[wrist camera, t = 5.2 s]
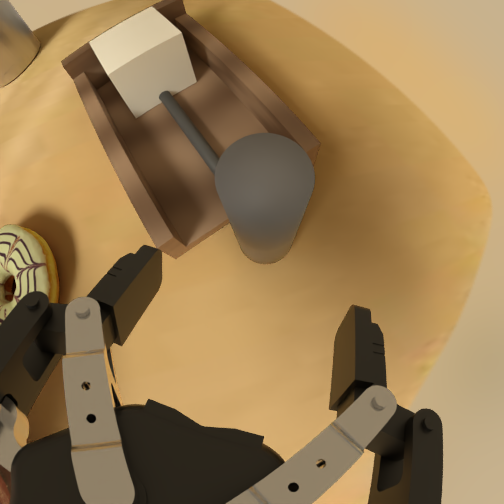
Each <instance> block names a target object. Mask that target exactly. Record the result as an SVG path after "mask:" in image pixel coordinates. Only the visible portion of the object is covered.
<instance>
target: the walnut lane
mask: <svg viewBox="0 0 504 504" xmlns="http://www.w3.org/2000/svg"><path fill="white" fill-rule="evenodd" d="M150 7H151V6H150ZM152 7H153V8H155V9H156V10H157V11H158V12H159V13H160V14H161V15H163V16H164V17H165V18H166V19H167V20H168V21H169V22H171V23H172V24H173V25H174V26H175V27H176V28H177V29H178V30H179V31H181V32H182V35H183V38H184V42H185V45H186V48H187V51H188V55H189V58H190V61H191V65H192V68H193V71H194V74H195V78H196V81H197V82H196V83H194V84H192V85H191V86H189V87H187V88H185V89H183V90H182V91H180V92H178V93H177V94H175V95H173V97H174V99H175V100H176V101H177V102H178V104H179V105H180V106H181V108H182V109H183V110H184V112H185V113H186V114H187V115H188V117H189V118H190V119H191V121H192V122H193V123H194V125H195V126H196V127H197V129H198V130H199V131H200V133H201V134H202V135H203V137H204V138H205V139H206V141H207V142H208V143H209V145H210V146H211V147H212V149H213V150H214V151H215V153H216V154H217V155H218V157H219V158H220V157H221V155H222V154H223V152H224V151H225V150H226V149H227V148H228V147H229V146H230V145H231V144H232V143H234V142H235V141H237V140H239V139H241V138H243V137H245V136H248V135H252V134H257V133H273V134H278V135H281V136H284V137H287V138H289V139H291V140H292V141H294V142H296V143H297V144H298V145H299V146H301V147H302V149H303V150H304V151H305V152H306V153H307V155H308V156H309V158H310V160H311V162H312V165H313V166H314V163H315V160H316V157H317V154H318V151H319V147H320V144H321V143H320V142H319V141H318V140H317V139H316V137H315V136H314V135H313V134H312V133H311V132H310V131H309V130H308V128H307V127H306V126H305V125H304V124H303V123H302V122H301V121H300V120H299V118H298V117H297V116H296V115H295V114H294V113H293V112H292V111H291V110H290V109H289V108H288V107H287V106H286V105H285V103H284V102H283V101H282V100H281V99H280V98H279V97H278V96H277V95H276V94H275V93H274V92H273V91H272V90H271V89H270V88H269V87H268V86H267V85H266V84H265V83H264V82H263V81H262V80H261V79H260V78H259V77H258V76H257V75H256V74H255V73H254V72H253V71H252V70H251V69H250V68H248V67H247V66H246V65H245V64H244V63H243V62H242V61H241V60H240V59H239V58H238V57H237V56H236V55H234V54H233V53H232V52H231V51H230V50H229V49H228V48H227V47H226V46H224V45H223V44H222V43H221V42H220V41H219V40H218V39H216V38H215V37H214V36H213V35H212V34H211V33H209V32H208V31H207V30H206V29H205V28H204V27H202V26H201V25H200V24H199V23H197V22H196V21H195V20H194V19H193V18H191V17H190V16H189V15H188V14H186V11H185V8H184V4H183V0H163V1H161V2H159V3H156V4H154V5H152ZM148 8H149V7H148ZM146 9H147V8H146ZM144 10H145V9H144ZM142 11H143V10H142ZM140 12H141V11H140ZM140 12H138V13H140ZM138 13H137V14H138ZM135 15H136V14H135ZM133 16H134V15H133ZM131 17H132V16H131ZM129 18H130V17H129ZM127 19H128V18H127ZM127 19H125V20H127ZM125 20H124V21H125ZM122 22H123V21H122ZM120 23H121V22H120ZM118 24H119V23H118ZM118 24H117V25H118ZM115 26H116V25H115ZM113 27H114V26H113ZM113 27H112V28H113ZM110 29H111V28H110ZM108 30H109V29H108ZM108 30H107V31H108ZM105 32H106V31H105ZM103 33H104V32H103ZM103 33H102V34H103ZM100 35H101V34H100ZM100 35H99V36H100ZM97 37H98V36H97ZM95 38H96V37H95ZM95 38H94V39H95ZM92 40H93V39H92ZM92 40H91V41H92ZM89 42H90V41H89ZM89 42H88V43H86V44H85V45H83V46H82V47H80V48H79V49H77V50H76V51H75V52H73V53H72V54H70V55H69V56H68V57H66V58H65V59H64V60H62V61H61V62H62V65H63V67H64V69H65V70H66V71H67V73H68V74H69V75H70V76H71V78H72V79H73V81H74V83H75V85H76V88H77V90H78V93H79V95H80V97H81V99H82V102H83V104H84V106H85V109H86V111H87V113H88V115H89V118H90V120H91V122H92V124H93V126H94V128H95V131H96V133H97V135H98V137H99V139H100V141H101V143H102V145H103V147H104V150H105V152H106V154H107V156H108V158H109V160H110V162H111V164H112V166H113V168H114V170H115V172H116V174H117V176H118V178H119V180H120V182H121V184H122V185H123V187H124V189H125V191H126V193H127V195H128V197H129V199H130V201H131V203H132V204H133V206H134V208H135V210H136V212H137V214H138V215H139V217H140V219H141V221H142V223H143V225H144V226H145V228H146V230H147V232H148V233H149V235H150V237H151V239H152V241H153V242H154V244H155V246H156V248H157V249H160V250H161V251H162V252H164V253H166V254H168V255H170V256H171V257H173V258H175V259H176V258H178V257H179V256H181V255H182V254H184V253H185V252H187V251H188V250H190V249H191V248H193V247H194V246H195V245H197V244H198V243H200V242H201V241H203V240H204V239H206V238H207V237H209V236H210V235H212V234H213V233H215V232H216V231H218V230H219V229H221V228H222V227H224V226H225V225H227V224H228V223H230V221H229V219H228V217H227V214H226V212H225V210H224V207H223V205H222V202H221V200H220V198H219V195H218V193H217V190H216V186H215V176H214V174H213V173H212V171H211V170H210V169H209V167H208V166H207V164H206V163H205V162H204V160H203V159H202V157H201V156H200V155H199V153H198V152H197V150H196V149H195V148H194V146H193V145H192V143H191V142H190V141H189V139H188V138H187V136H186V135H185V134H184V132H183V131H182V129H181V128H180V127H179V125H178V124H177V122H176V121H175V120H174V118H173V117H172V116H171V114H170V113H169V111H168V110H167V109H166V107H165V106H164V104H163V103H162V102H161V103H160V104H158V105H157V106H155V107H153V108H152V109H150V110H149V111H147V112H146V113H144V114H142V115H141V116H139V117H138V118H135V116H134V115H133V113H132V112H131V110H130V109H129V107H128V106H127V104H126V103H125V101H124V100H123V98H122V97H121V95H120V93H119V92H118V90H117V89H116V87H115V86H114V84H113V83H112V81H111V80H110V78H109V76H108V75H107V73H106V71H105V70H104V68H103V66H102V65H101V63H100V61H99V59H98V58H97V56H96V54H95V52H94V51H93V49H92V47H91V45H90V44H89Z"/></svg>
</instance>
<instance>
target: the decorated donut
mask: <svg viewBox="0 0 504 504" xmlns="http://www.w3.org/2000/svg"><path fill="white" fill-rule="evenodd" d="M14 278H15V282H16V290H15V293H14V297H13V294H12V285H13V281H14ZM33 291H41V292H43V293H45V294H46V295H47V296H48V299H49V301H50V302H51V303H58V301H59V300H58V299H59V298H58V297H59V277H58V271H57V266H56V261H55V258H54V256H53V253H52V251H51V249H50V247H49V246H48V244H47V242H46V241H45V240H44V239H43V238H42V237H41V236H40V235H38V234H37V233H36V232H35V231H31V229H28V228H24V227H21V226H18V225H5V226H3V227H2V228H1V229H0V325H1V323H2V322H3V321H4V320H5V318H6V317H7V316H8V314H9V313H10V312H11V311H12V310H13V308H14V307H15V306H16V305H17V303H18V302H19V301H20V300H21V299H22V298H23V296H25V295H26V294H28V293H30V292H33Z"/></svg>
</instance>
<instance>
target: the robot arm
mask: <svg viewBox="0 0 504 504" xmlns="http://www.w3.org/2000/svg"><path fill="white" fill-rule="evenodd" d="M39 48H40V41H39V40H38V39H37V38H36V36H35V35H34V34H33V32H32V31H31V30H30V28H29V27H28V26H27V24H26V23H25V22H24V20H23V19H22V18H21V16H20V15H19V14H18V12H17V11H16V10H15V8H14V7H13V6H12V4H11V3H10V2H9V0H0V87H3V86H5V85H7V84H8V83H10V82H11V81H13V80H14V79H15V78H16V77H17V76H18V75H20V74H21V73H22V72H23V71H24V70H25V68H26V67H27V66H28V65H29V64H30V63H31V61H32V60H33V59H34V57H35V56H36V54H37V52H38V50H39ZM161 282H162V251H161V250H160V249H157V248H154V247H150V246H147V245H143V246H142V247H141V248H140V249H139V250H138V251H137V252H136V254H132V253H129V254H127V255H125V256H123V257H122V258H120V259H119V260H118V261H117V262H116V263H115V264H114V265H113V268H111V269H110V270H109V271H108V272H107V274H106V275H105V276H104V277H103V278H102V279H101V280H100V281H99V283H98V284H97V285H96V286H95V287H94V288H93V290H92V291H91V292H90V293H89V294H88V295H87V297H80V298H76V299H74V300H73V301H71V302H70V303H69V304H58V303H51V302H50V301H49V299H48V296H47V295H46V294H45V293H43V292H41V291H33V292H30V293H28V294H26V295H25V296H23V298H22V299H21V300H20V301H19V302H18V303H17V305H16V306H15V307H14V308H13V310H12V311H11V312H10V313H9V314H8V316H7V317H6V318H5V320H4V321H3V322H2V323H1V325H0V465H2V466H3V467H4V468H6V469H7V470H8V471H10V472H11V497H10V503H9V504H312V503H313V502H315V501H316V500H317V499H318V498H319V497H320V496H321V495H322V494H323V493H325V492H326V491H327V490H328V489H329V488H330V487H331V486H332V485H333V484H334V483H335V482H336V481H337V480H338V479H339V478H340V477H341V476H342V475H343V474H344V473H345V472H346V471H347V470H348V469H349V468H350V467H351V466H352V465H353V464H354V463H355V462H356V461H357V460H358V459H359V458H360V457H361V455H362V454H363V453H364V451H363V450H364V449H368V450H370V451H372V452H374V453H375V459H374V467H373V474H372V482H371V488H370V494H369V500H368V504H441V497H442V478H443V476H442V475H443V433H442V422H441V419H440V418H439V416H438V415H437V413H435V412H434V411H433V410H431V409H421V410H419V411H418V412H416V413H413V412H411V411H409V410H407V409H405V408H403V407H401V406H399V405H398V404H397V403H396V399H395V397H394V395H393V394H392V392H391V391H390V390H388V389H387V383H386V365H385V356H384V354H385V350H384V338H383V333H382V331H381V329H380V327H379V326H378V324H375V323H371V311H370V309H367V308H364V307H360V306H356V305H352V306H351V307H350V309H349V310H348V312H347V314H346V316H345V318H344V320H343V321H342V323H341V325H340V327H339V328H338V331H337V333H336V337H335V341H334V356H333V370H332V382H331V393H330V403H329V410H334V411H337V419H336V420H335V421H334V422H332V423H331V424H330V425H329V426H328V427H327V428H326V429H325V430H323V431H322V432H321V433H320V434H319V435H318V436H317V437H315V438H314V439H313V440H312V441H311V442H310V443H308V444H307V445H306V446H305V447H304V448H302V449H301V450H300V451H299V452H298V453H296V454H295V455H294V456H293V457H291V458H290V459H289V460H288V461H286V462H285V461H284V460H283V459H282V458H281V456H280V455H279V454H278V453H276V452H275V451H274V450H273V449H271V448H270V447H268V446H267V445H265V444H263V439H264V436H260V435H256V434H252V433H249V432H245V431H241V430H238V429H231V428H216V427H205V426H201V425H199V424H198V423H196V422H194V421H193V420H191V419H190V418H188V417H187V416H185V415H183V414H182V413H180V412H179V411H177V410H176V409H173V408H171V407H168V406H166V405H163V404H160V403H158V402H155V401H153V400H150V399H148V401H147V403H146V405H140V404H131V405H123V403H122V399H121V396H120V393H119V389H118V384H117V379H116V374H115V369H114V363H113V357H112V351H111V348H110V347H111V345H112V344H113V342H114V343H116V344H118V345H120V346H122V345H123V344H124V342H125V341H126V339H127V337H128V336H129V334H130V333H131V331H132V330H133V328H134V327H135V325H136V324H137V322H138V320H139V319H140V317H141V316H142V314H143V313H144V311H145V310H146V308H147V307H148V305H149V304H150V302H151V301H152V299H153V298H154V296H155V295H156V293H157V292H158V290H159V288H160V285H161ZM62 355H63V358H62V366H63V380H64V391H65V401H66V409H67V417H68V424H69V428H67V429H64V430H62V431H60V432H57V433H54V434H52V435H49V436H47V437H44V438H42V439H39V440H36V441H34V442H31V443H28V444H27V443H26V439H27V438H28V436H29V432H28V431H29V422H28V419H27V415H28V413H29V411H30V409H31V408H32V406H33V404H34V402H35V400H36V399H37V397H38V395H39V393H40V392H41V390H42V388H43V386H44V385H45V383H46V381H47V380H48V378H49V376H50V374H51V373H52V371H53V370H54V368H55V366H56V365H57V363H58V361H59V360H60V358H61V357H62Z"/></svg>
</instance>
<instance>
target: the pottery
mask: <svg viewBox="0 0 504 504" xmlns="http://www.w3.org/2000/svg"><path fill="white" fill-rule="evenodd" d="M10 497H11V472H10V471H8V470H7V469H6V468H4V467H3V466H2V465H0V504H9V503H10Z"/></svg>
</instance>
